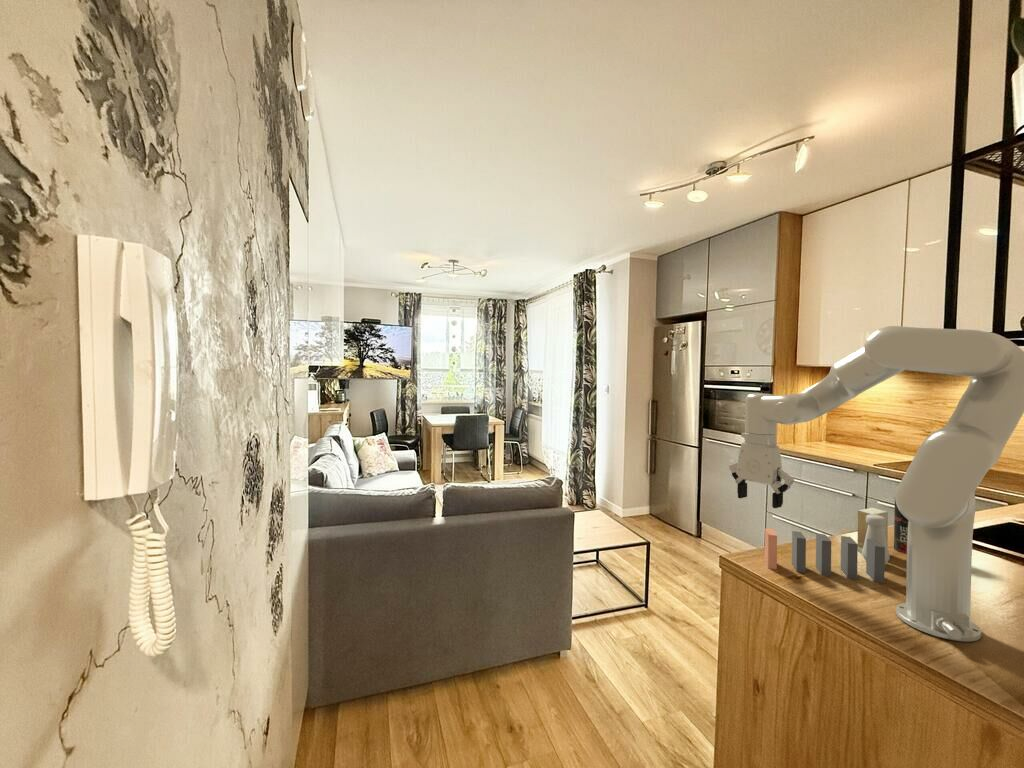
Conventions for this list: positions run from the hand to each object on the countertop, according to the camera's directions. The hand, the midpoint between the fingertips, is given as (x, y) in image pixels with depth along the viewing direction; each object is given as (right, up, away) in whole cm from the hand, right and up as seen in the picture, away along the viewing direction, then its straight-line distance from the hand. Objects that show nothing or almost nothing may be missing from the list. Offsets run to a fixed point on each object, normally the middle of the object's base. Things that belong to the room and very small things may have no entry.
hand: (759, 502), depth 120 cm
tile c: (+19, -17, -7) cm, 26 cm away
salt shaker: (+31, -17, -1) cm, 35 cm away
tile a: (+9, -17, -3) cm, 19 cm away
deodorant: (+47, -16, +7) cm, 50 cm away
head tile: (+3, -17, -1) cm, 17 cm away
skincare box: (+36, -16, +6) cm, 40 cm away
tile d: (+24, -17, -9) cm, 31 cm away
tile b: (+14, -17, -5) cm, 22 cm away
